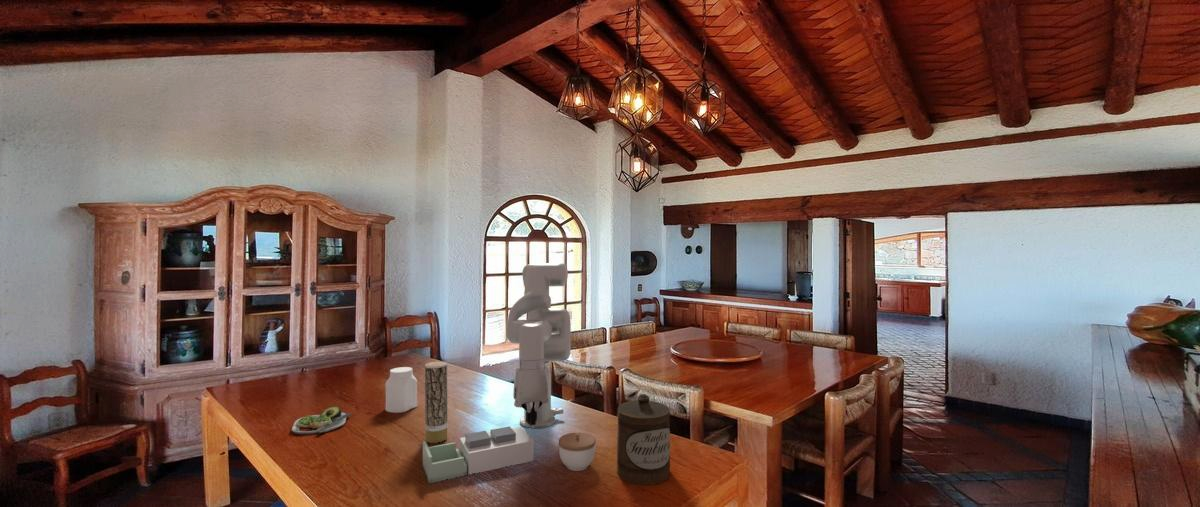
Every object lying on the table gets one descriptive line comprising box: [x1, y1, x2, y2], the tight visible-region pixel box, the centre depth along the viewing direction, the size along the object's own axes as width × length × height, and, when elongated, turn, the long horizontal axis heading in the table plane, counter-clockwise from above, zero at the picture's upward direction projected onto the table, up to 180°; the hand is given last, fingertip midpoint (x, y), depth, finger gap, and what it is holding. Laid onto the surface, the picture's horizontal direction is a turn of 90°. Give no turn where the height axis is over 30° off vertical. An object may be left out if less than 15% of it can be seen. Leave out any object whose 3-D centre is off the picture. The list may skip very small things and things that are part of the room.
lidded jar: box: [558, 432, 597, 472], centre depth 139 cm, size 11×11×9 cm
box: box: [422, 440, 468, 484], centre depth 136 cm, size 10×12×7 cm
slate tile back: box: [489, 425, 516, 444], centre depth 144 cm, size 6×6×2 cm
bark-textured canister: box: [424, 361, 448, 444], centre depth 157 cm, size 7×7×25 cm
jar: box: [384, 366, 418, 414], centre depth 189 cm, size 12×10×15 cm
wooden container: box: [616, 393, 671, 486], centre depth 135 cm, size 15×15×22 cm
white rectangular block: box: [459, 426, 535, 475], centre depth 143 cm, size 19×12×6 cm, turn 118°
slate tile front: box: [464, 430, 491, 449], centre depth 141 cm, size 6×6×2 cm
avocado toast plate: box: [291, 406, 352, 436], centre depth 169 cm, size 19×18×5 cm
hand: (531, 423), depth 148 cm, fingers closed
